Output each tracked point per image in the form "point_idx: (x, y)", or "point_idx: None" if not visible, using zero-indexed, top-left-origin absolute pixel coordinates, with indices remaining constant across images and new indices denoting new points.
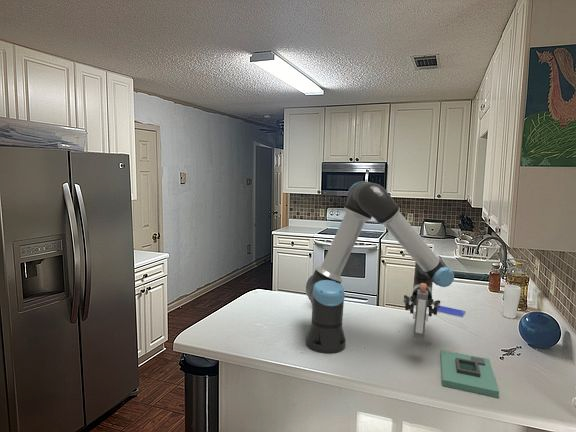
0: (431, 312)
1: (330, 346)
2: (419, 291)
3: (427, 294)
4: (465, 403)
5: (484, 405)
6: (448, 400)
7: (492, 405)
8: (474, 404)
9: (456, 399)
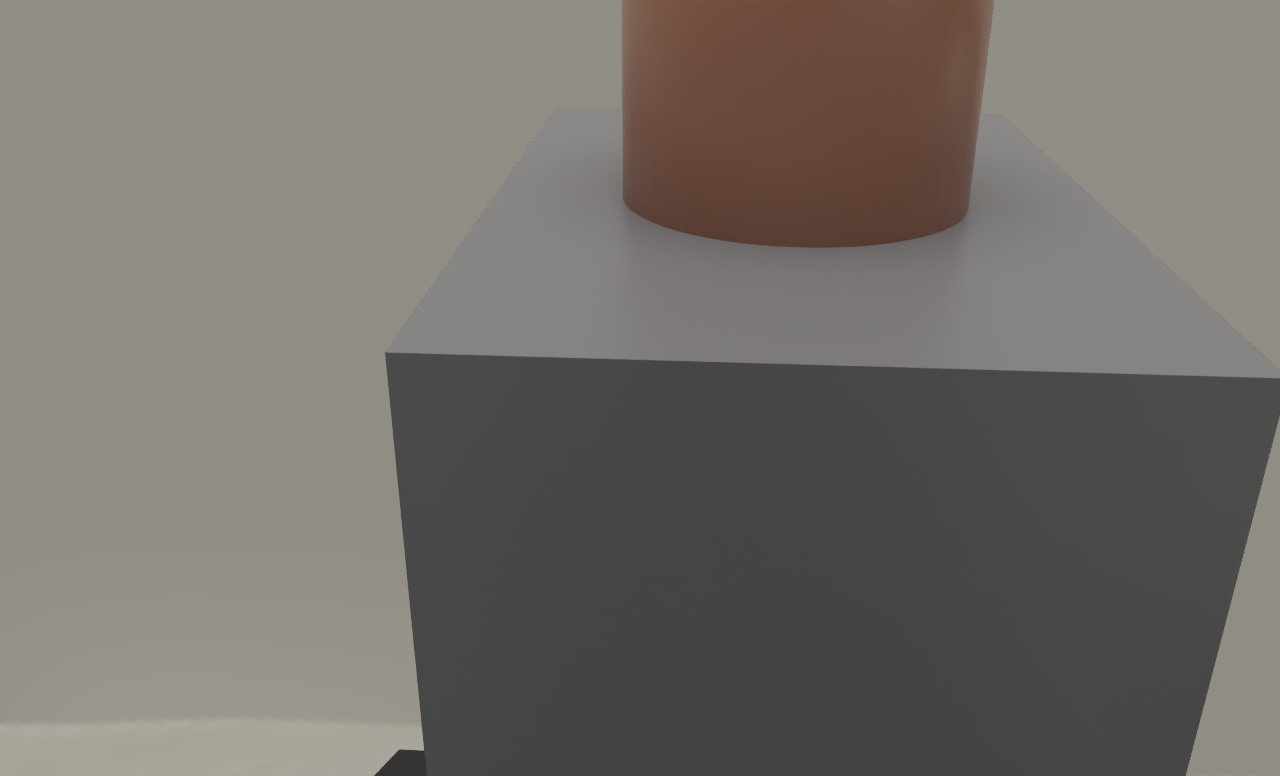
0: (391, 765)
1: None
2: (985, 197)
3: (569, 116)
4: (280, 733)
5: (112, 751)
6: (420, 731)
7: (29, 769)
8: (201, 741)
9: (339, 760)
